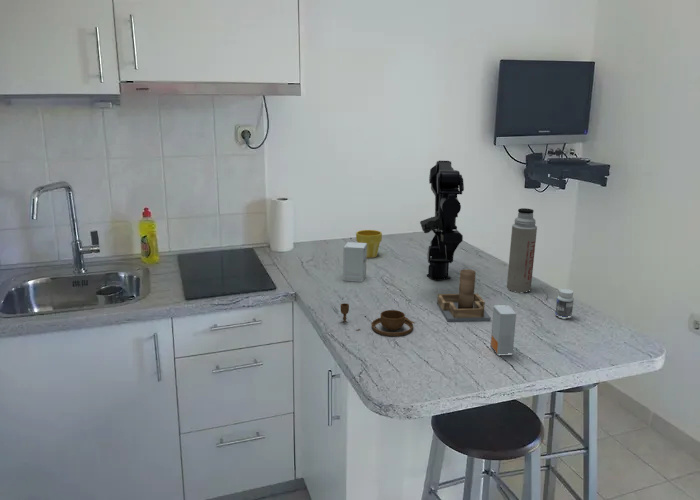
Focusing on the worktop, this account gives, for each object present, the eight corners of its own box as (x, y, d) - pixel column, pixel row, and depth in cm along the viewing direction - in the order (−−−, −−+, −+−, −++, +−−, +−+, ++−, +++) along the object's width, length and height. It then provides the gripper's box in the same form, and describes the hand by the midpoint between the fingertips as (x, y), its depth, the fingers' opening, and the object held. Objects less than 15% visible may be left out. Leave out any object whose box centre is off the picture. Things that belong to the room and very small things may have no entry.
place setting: (385, 345, 158) (386, 325, 156) (336, 323, 172) (336, 305, 170) (427, 328, 169) (428, 309, 168) (377, 309, 183) (378, 291, 182)
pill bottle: (551, 315, 178) (554, 289, 176) (564, 313, 180) (567, 287, 178) (562, 320, 174) (565, 294, 172) (574, 318, 176) (578, 292, 173)
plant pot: (357, 251, 243) (357, 228, 240) (382, 252, 242) (382, 229, 239) (354, 258, 233) (354, 235, 231) (380, 260, 232) (380, 236, 229)
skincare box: (489, 346, 157) (493, 305, 153) (505, 346, 157) (508, 304, 154) (497, 356, 151) (500, 313, 147) (513, 356, 151) (517, 313, 148)
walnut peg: (459, 308, 180) (462, 268, 176) (474, 311, 178) (477, 270, 175) (455, 313, 176) (458, 272, 172) (470, 316, 174) (473, 274, 171)
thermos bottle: (535, 290, 199) (544, 210, 191) (518, 294, 195) (525, 212, 188) (519, 283, 206) (526, 206, 198) (501, 287, 202) (508, 208, 194)
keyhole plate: (436, 304, 186) (437, 293, 185) (476, 303, 187) (477, 292, 186) (447, 321, 172) (448, 310, 171) (490, 320, 173) (491, 309, 172)
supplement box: (363, 282, 206) (363, 248, 202) (342, 281, 207) (342, 246, 204) (366, 276, 213) (367, 242, 209) (346, 274, 214) (347, 241, 211)
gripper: (417, 204, 197) (415, 248, 201) (428, 216, 179) (426, 264, 183) (449, 203, 198) (447, 248, 202) (464, 215, 180) (461, 264, 184)
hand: (444, 255), depth 193 cm, fingers open, 9 cm apart
